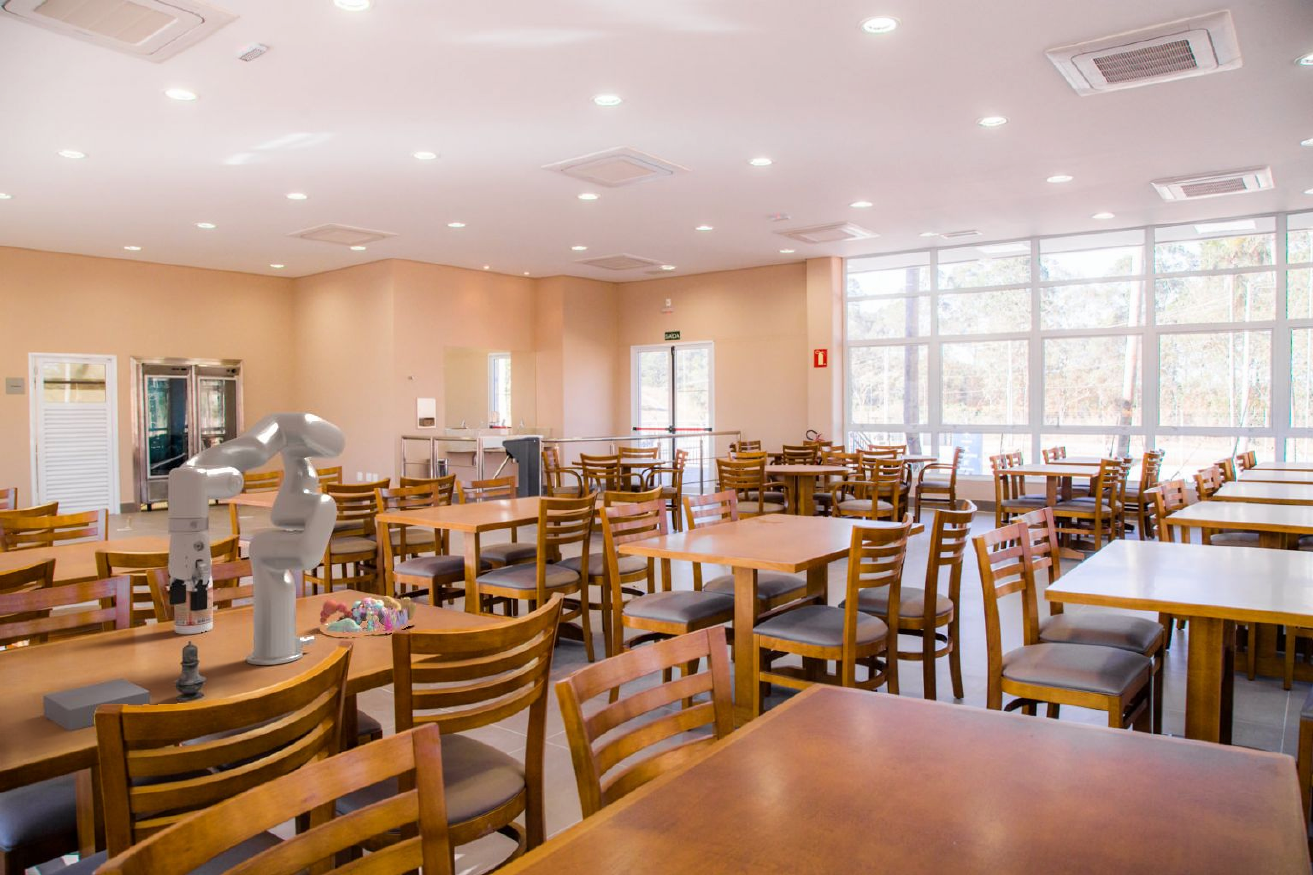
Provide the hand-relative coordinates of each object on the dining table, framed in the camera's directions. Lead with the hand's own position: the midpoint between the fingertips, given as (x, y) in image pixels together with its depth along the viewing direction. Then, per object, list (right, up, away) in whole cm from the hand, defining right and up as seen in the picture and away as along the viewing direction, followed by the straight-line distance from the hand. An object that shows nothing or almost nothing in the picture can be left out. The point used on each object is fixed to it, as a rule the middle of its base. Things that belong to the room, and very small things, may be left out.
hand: (188, 606), depth 179 cm
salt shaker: (0, -20, +1) cm, 20 cm away
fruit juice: (-30, -18, +57) cm, 67 cm away
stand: (-13, -19, -9) cm, 25 cm away
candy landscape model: (+17, -19, +61) cm, 66 cm away
